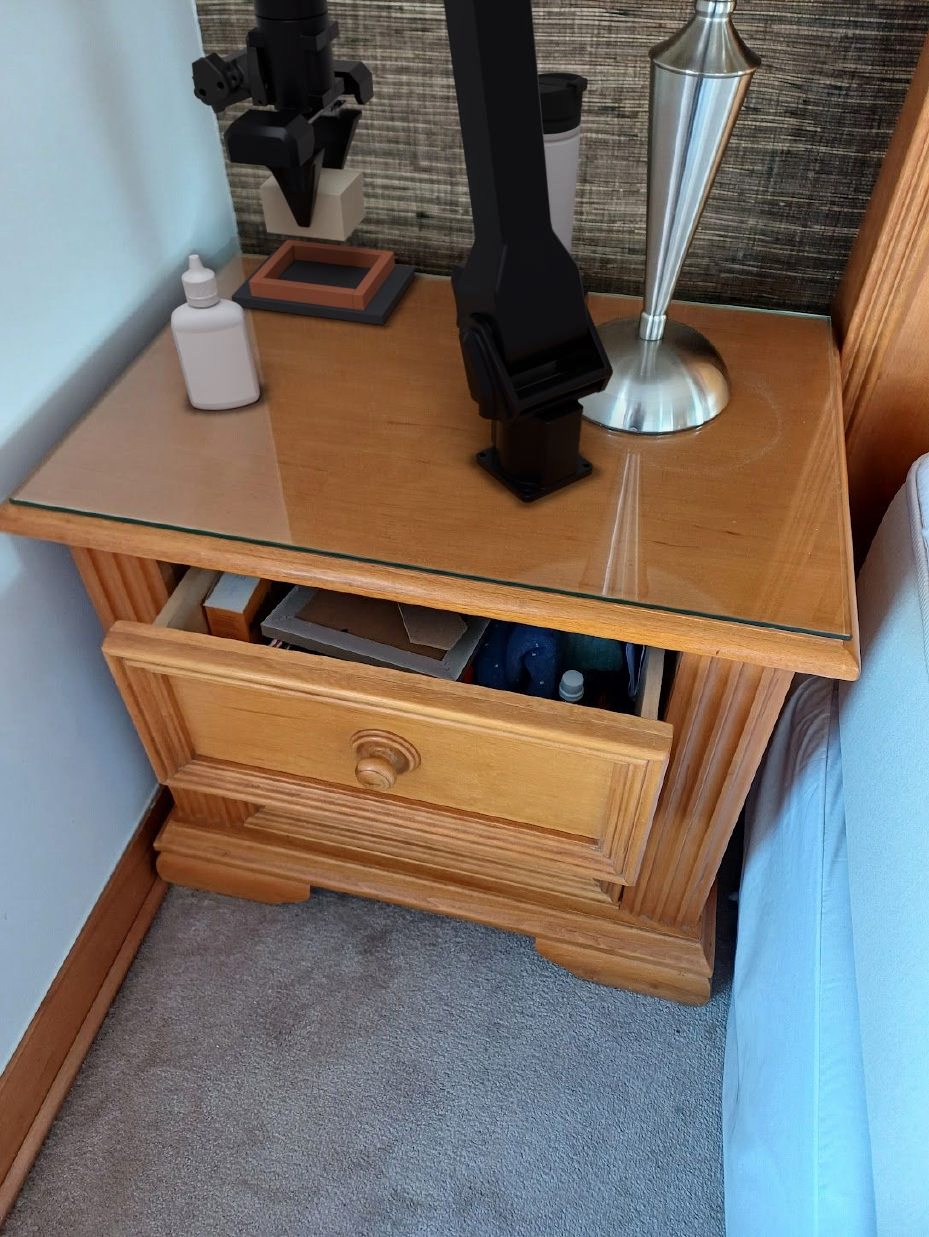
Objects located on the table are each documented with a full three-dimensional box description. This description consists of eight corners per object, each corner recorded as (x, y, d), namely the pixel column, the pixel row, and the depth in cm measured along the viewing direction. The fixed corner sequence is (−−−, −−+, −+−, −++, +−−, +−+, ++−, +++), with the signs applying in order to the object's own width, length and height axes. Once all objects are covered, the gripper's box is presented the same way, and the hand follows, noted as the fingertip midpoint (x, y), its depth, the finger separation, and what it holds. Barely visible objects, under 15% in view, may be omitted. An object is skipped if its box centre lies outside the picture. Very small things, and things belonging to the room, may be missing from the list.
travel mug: (547, 341, 81) (564, 92, 66) (485, 322, 83) (488, 78, 69) (580, 312, 84) (603, 70, 70) (519, 294, 87) (529, 57, 72)
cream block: (365, 216, 84) (361, 171, 81) (344, 241, 80) (340, 195, 77) (290, 208, 85) (284, 164, 82) (266, 232, 82) (259, 186, 79)
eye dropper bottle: (244, 419, 72) (213, 275, 64) (182, 407, 74) (144, 264, 65) (268, 390, 75) (242, 248, 67) (208, 380, 77) (174, 239, 68)
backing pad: (415, 276, 89) (414, 252, 88) (383, 325, 83) (381, 300, 81) (275, 260, 92) (271, 235, 90) (232, 306, 85) (227, 280, 84)
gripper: (247, -21, 78) (275, 168, 90) (139, 37, 66) (188, 247, 77) (368, -14, 76) (381, 178, 88) (280, 47, 64) (309, 262, 75)
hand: (316, 213), depth 82 cm, fingers closed on cream block, 5 cm apart
